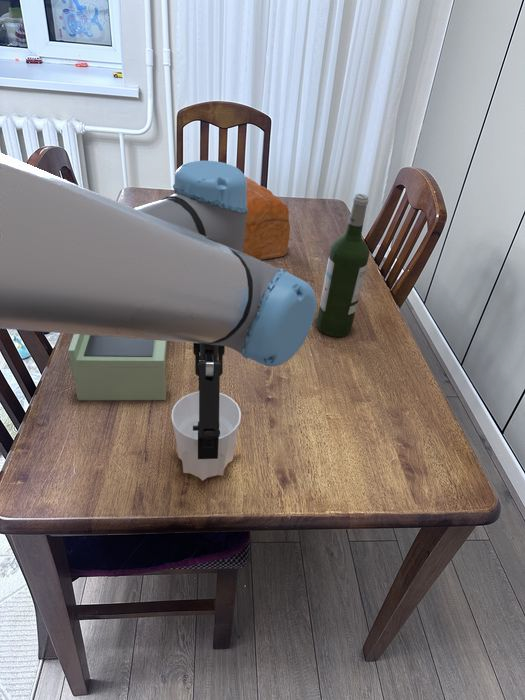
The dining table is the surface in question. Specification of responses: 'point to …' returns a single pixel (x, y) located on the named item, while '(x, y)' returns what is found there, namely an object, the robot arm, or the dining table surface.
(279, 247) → the bread
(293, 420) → the dining table surface
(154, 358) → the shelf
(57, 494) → the dining table surface
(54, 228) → the robot arm
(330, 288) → the wine bottle
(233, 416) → the cup
